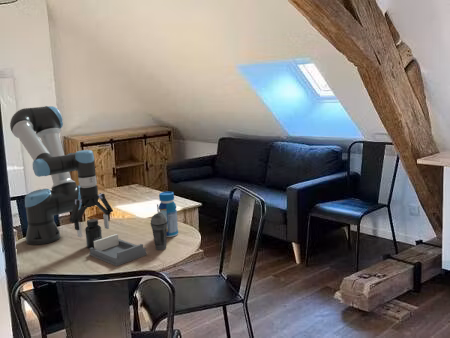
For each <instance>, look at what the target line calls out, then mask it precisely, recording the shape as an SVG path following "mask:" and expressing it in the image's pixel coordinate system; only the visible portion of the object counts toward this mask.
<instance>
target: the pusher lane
mask: <svg viewBox="0 0 450 338" xmlns="http://www.w3.org/2000/svg"><path fill="white" fill-rule="evenodd" d="M118 239H119V245H117V246H114V247H111V248H108V249H105V250H102V251H100V250H97V249H95V248H89V256H91V257H93V258H96V259H98V260H100V261H103V262H105V263H107V264H110V265H113V266H115V267H118V266H120V265H123V264H126V263H129V262H131V261H134V260H137V259H139V258H142V257H144V256H147V251H146V249H147V248H145V247H144V244H142V243H139V244H136V243H135V244H134V243H131V242H129V241H125V240H123V239H120V238H118Z"/></svg>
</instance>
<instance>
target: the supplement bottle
mask: <svg viewBox="0 0 450 338" xmlns="http://www.w3.org/2000/svg"><path fill="white" fill-rule="evenodd" d="M84 229H85V230H84V231H85V239H86V247H87V248H88V249H90V248H94V241H96V240H99V239H102V238H103V235H102V226H101V225H99V220H98V219H97V218H91V219H87V220H86V227H85V228H84Z"/></svg>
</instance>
